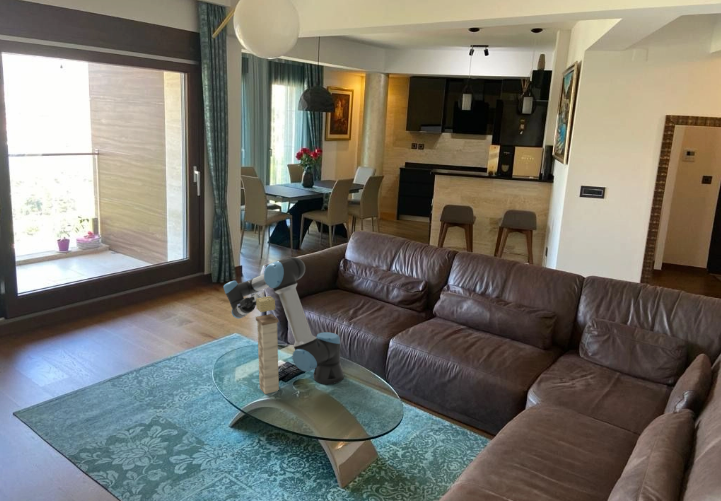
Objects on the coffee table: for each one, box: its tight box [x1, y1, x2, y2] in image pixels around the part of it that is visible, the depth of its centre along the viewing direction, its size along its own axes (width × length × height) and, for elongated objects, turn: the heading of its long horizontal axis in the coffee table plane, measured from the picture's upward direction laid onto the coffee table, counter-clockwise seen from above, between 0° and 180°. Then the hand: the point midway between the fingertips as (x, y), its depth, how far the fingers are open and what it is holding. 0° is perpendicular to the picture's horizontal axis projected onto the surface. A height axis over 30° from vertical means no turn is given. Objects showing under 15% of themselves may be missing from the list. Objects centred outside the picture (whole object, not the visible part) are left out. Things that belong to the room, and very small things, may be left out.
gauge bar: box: [250, 293, 276, 313], centre depth 258 cm, size 18×7×5 cm, turn 32°
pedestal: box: [255, 313, 280, 395], centre depth 258 cm, size 8×8×36 cm
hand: (260, 295), depth 258 cm, fingers closed on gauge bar, 2 cm apart
